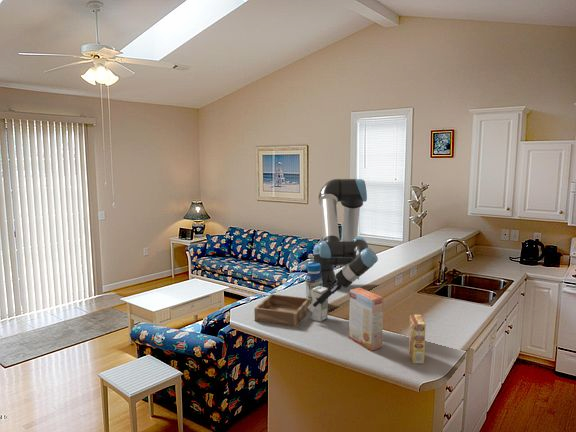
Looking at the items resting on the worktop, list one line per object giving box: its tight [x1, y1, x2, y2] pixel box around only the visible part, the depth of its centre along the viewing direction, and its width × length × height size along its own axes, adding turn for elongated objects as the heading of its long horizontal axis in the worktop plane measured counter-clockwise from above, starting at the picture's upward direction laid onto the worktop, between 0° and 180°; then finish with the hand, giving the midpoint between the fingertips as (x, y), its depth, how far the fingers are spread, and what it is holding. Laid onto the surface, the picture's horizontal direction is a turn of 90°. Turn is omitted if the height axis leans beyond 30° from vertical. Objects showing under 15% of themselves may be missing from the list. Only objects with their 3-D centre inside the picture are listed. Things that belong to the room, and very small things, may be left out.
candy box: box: [408, 314, 426, 365], centre depth 156 cm, size 9×4×15 cm, turn 174°
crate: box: [254, 293, 311, 328], centre depth 197 cm, size 20×20×6 cm
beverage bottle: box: [305, 262, 323, 304], centre depth 212 cm, size 8×8×20 cm
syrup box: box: [310, 286, 329, 323], centre depth 192 cm, size 6×6×14 cm
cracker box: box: [348, 287, 384, 352], centre depth 168 cm, size 14×6×21 cm, turn 30°
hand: (312, 306), depth 194 cm, fingers closed on syrup box, 7 cm apart
